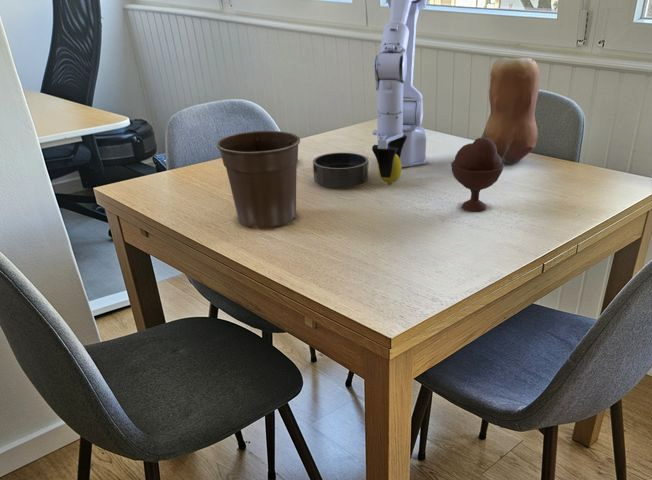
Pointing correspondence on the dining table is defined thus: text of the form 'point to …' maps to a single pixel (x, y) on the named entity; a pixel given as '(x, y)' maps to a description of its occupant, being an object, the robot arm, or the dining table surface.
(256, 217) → the plant pot
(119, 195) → the dining table surface
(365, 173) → the bowl
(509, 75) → the butternut squash
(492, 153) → the ice cream bowl
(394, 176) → the lemon
